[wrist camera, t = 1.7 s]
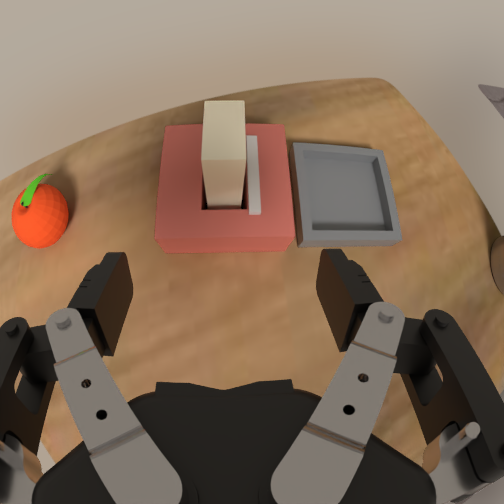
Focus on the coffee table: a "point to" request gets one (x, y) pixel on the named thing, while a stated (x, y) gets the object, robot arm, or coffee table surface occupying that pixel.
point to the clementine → (40, 214)
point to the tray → (342, 196)
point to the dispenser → (224, 221)
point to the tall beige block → (224, 153)
